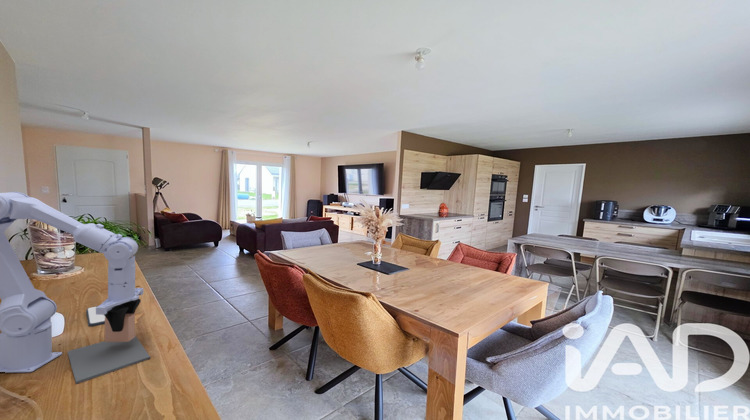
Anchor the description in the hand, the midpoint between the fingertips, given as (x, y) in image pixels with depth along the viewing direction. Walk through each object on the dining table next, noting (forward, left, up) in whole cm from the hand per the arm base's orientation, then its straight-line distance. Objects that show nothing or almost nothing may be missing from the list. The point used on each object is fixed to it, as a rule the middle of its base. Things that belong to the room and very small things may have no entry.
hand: (121, 328), depth 80 cm
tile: (0, 0, -3) cm, 3 cm away
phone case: (-21, +22, -7) cm, 31 cm away
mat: (-1, -3, -6) cm, 7 cm away
